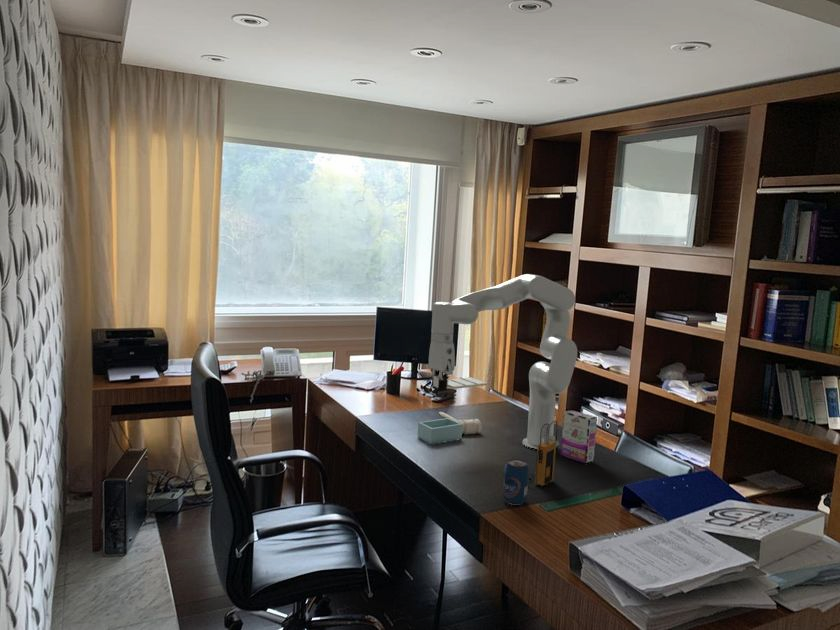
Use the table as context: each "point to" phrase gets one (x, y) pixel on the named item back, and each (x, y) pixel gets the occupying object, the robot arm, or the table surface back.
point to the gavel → (466, 424)
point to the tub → (439, 430)
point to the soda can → (515, 481)
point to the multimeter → (545, 460)
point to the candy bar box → (578, 435)
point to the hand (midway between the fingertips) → (439, 389)
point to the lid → (459, 382)
